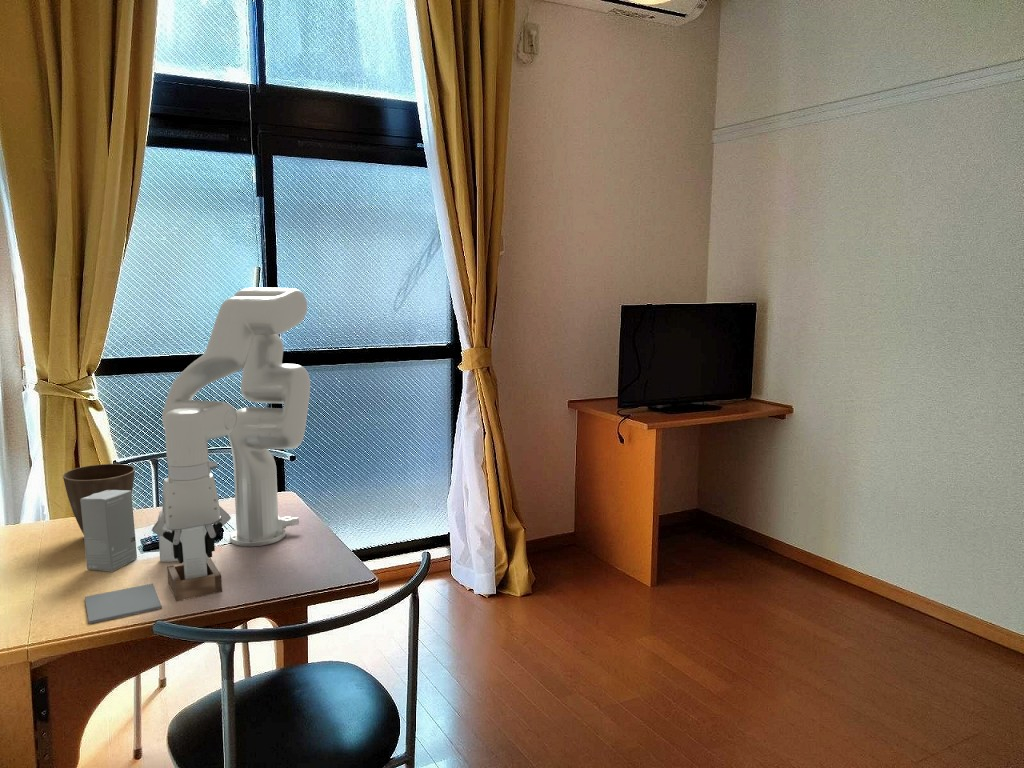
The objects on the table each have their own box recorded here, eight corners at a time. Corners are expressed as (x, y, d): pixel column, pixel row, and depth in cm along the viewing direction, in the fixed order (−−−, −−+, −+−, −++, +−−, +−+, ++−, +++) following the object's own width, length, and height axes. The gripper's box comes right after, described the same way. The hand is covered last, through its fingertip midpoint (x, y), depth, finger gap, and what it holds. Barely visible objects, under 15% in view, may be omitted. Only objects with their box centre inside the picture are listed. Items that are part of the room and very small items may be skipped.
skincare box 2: (184, 576, 152) (181, 520, 150) (207, 572, 153) (203, 517, 151) (184, 588, 146) (180, 530, 144) (208, 584, 148) (204, 527, 146)
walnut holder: (211, 573, 156) (210, 557, 155) (222, 591, 147) (221, 575, 147) (168, 582, 151) (167, 566, 151) (176, 601, 143) (175, 584, 142)
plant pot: (136, 522, 187) (132, 460, 185) (141, 540, 175) (137, 474, 172) (67, 532, 180) (62, 468, 177) (68, 551, 167) (62, 483, 165)
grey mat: (153, 585, 150) (153, 583, 150) (161, 608, 140) (161, 605, 140) (84, 599, 143) (84, 596, 143) (89, 623, 133) (88, 621, 133)
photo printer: (211, 553, 167) (208, 500, 165) (208, 560, 163) (205, 506, 161) (162, 556, 165) (159, 503, 163) (158, 564, 161) (154, 509, 159)
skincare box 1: (112, 573, 156) (106, 500, 154) (82, 570, 157) (77, 498, 155) (139, 558, 164) (135, 489, 162) (111, 555, 165) (106, 486, 163)
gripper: (229, 460, 154) (234, 543, 157) (138, 472, 145) (145, 560, 148) (237, 469, 147) (242, 555, 151) (143, 482, 138) (151, 574, 141)
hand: (194, 557), depth 149 cm, fingers closed on skincare box 2, 4 cm apart
